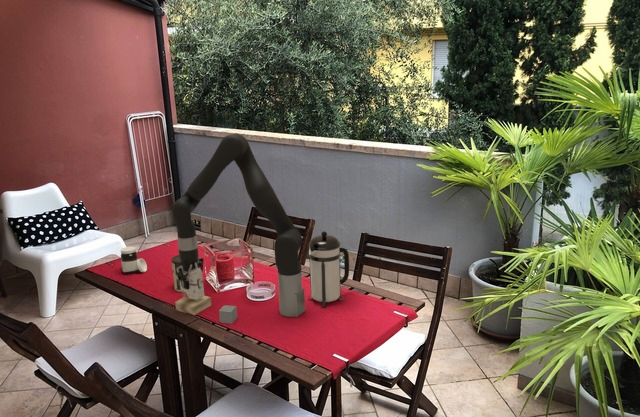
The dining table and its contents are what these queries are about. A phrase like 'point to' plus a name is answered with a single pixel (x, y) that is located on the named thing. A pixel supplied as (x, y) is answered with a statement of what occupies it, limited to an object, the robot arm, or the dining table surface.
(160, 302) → the dining table surface
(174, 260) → the coffee can
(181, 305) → the beech block
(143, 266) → the spread jar
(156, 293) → the dining table surface
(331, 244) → the coffee press
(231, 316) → the slate cube
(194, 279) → the ink box
